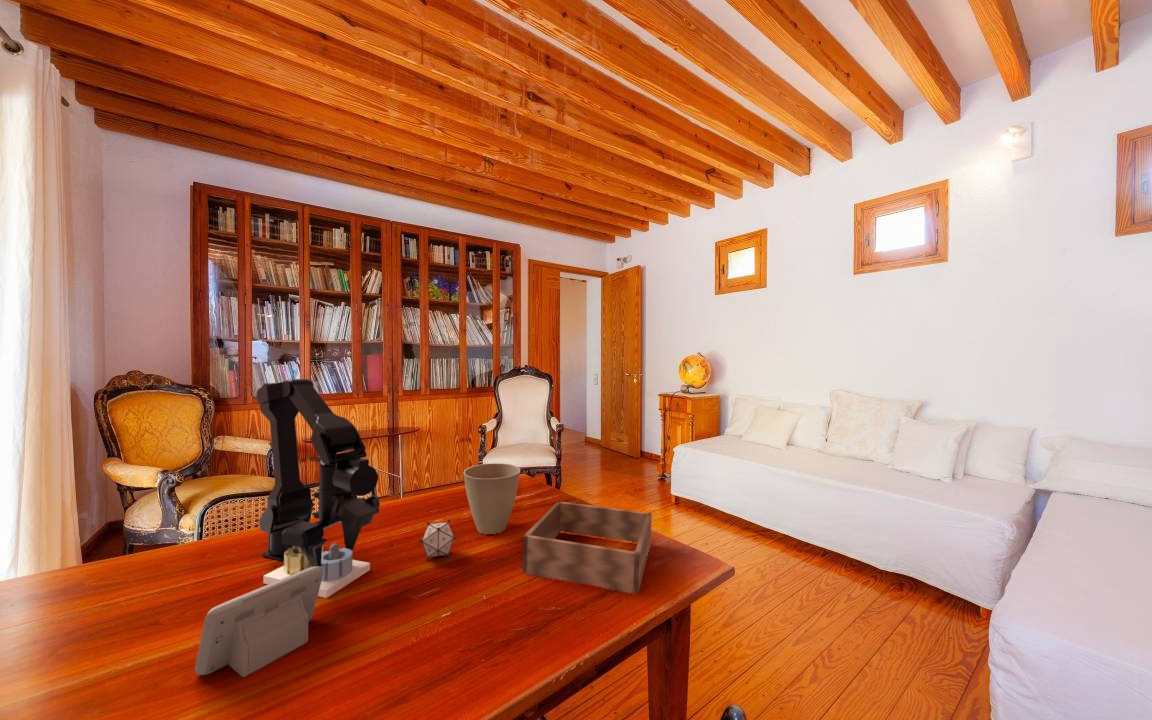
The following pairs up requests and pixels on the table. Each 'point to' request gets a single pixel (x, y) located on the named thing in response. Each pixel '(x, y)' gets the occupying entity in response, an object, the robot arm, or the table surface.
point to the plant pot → (491, 494)
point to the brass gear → (295, 560)
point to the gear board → (327, 586)
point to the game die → (438, 539)
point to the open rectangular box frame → (589, 546)
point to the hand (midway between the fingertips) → (334, 561)
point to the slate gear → (336, 565)
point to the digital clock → (259, 624)
